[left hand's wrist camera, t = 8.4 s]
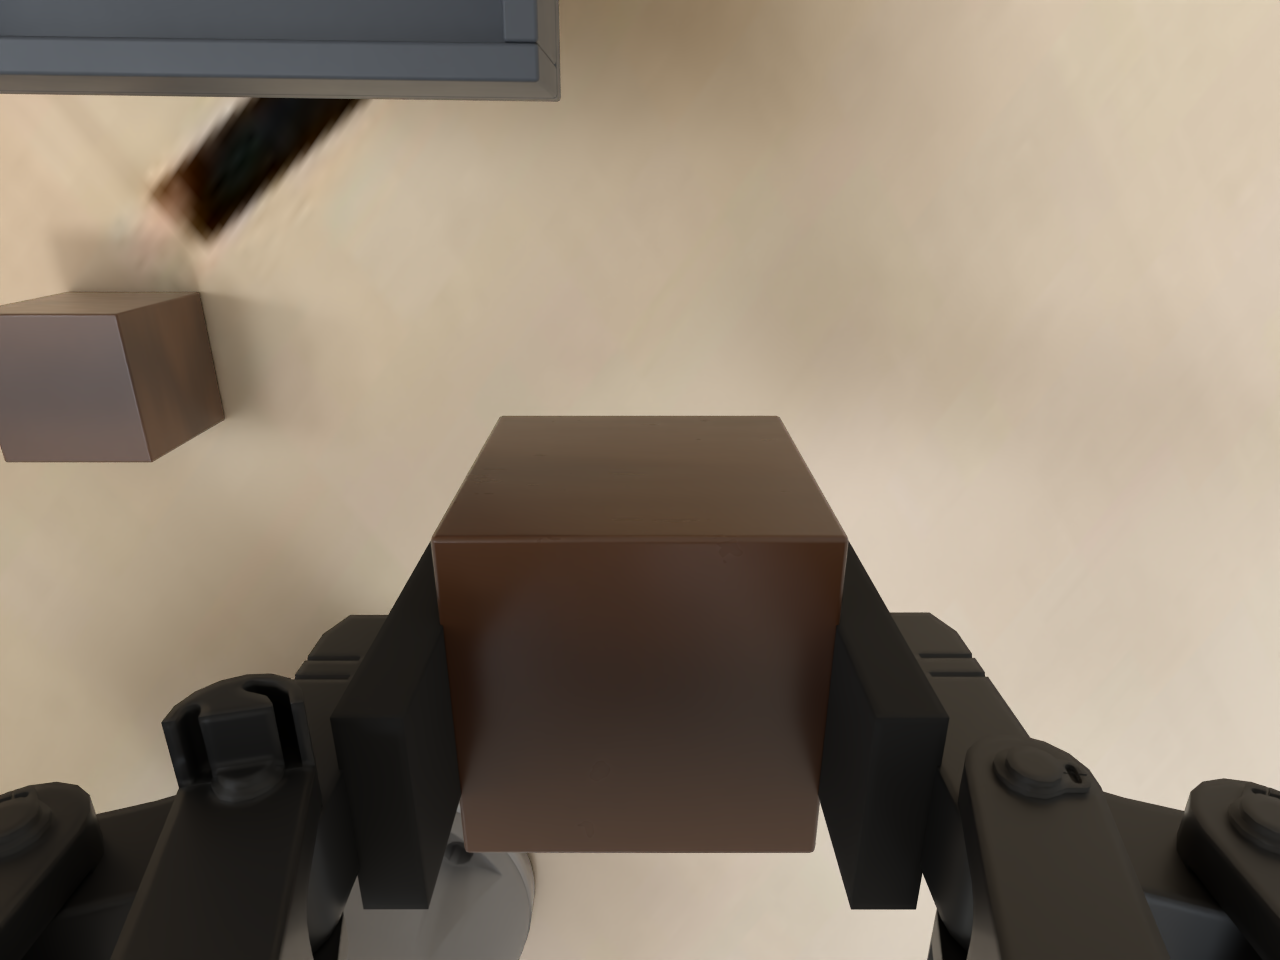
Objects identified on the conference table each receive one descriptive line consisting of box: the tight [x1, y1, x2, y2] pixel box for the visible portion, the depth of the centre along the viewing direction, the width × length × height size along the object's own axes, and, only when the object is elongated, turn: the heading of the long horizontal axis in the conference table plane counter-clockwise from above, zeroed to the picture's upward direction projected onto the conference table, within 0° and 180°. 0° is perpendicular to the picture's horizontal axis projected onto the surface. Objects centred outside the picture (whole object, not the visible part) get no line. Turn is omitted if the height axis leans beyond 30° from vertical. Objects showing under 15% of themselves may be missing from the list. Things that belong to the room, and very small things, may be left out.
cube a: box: [431, 416, 848, 853], centre depth 12 cm, size 5×5×5 cm
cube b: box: [0, 292, 224, 462], centre depth 28 cm, size 5×5×5 cm
